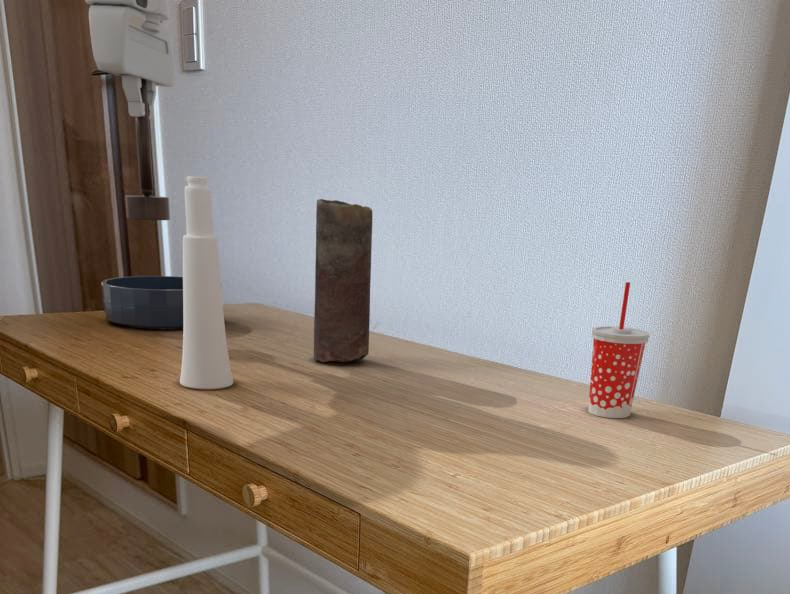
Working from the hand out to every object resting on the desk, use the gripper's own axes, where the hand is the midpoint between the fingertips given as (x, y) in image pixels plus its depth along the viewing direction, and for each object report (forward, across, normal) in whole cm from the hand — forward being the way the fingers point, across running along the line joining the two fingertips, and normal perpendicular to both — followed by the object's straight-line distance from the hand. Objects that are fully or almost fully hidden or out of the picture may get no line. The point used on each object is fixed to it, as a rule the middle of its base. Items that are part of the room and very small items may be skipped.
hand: (141, 117), depth 115 cm
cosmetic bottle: (+29, +32, +18) cm, 47 cm away
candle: (+29, +14, +31) cm, 45 cm away
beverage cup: (+29, +32, +64) cm, 77 cm away
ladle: (+13, 0, 0) cm, 13 cm away
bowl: (+29, -8, -1) cm, 30 cm away
